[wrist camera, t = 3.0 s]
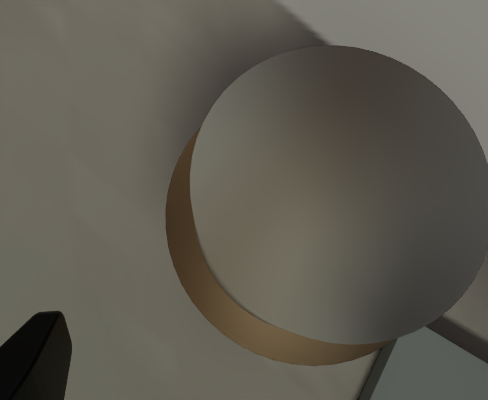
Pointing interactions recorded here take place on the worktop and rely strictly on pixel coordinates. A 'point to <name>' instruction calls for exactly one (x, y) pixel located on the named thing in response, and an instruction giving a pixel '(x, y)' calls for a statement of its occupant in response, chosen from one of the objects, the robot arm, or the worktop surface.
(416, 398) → the slate trivet
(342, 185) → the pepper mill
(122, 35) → the worktop surface
